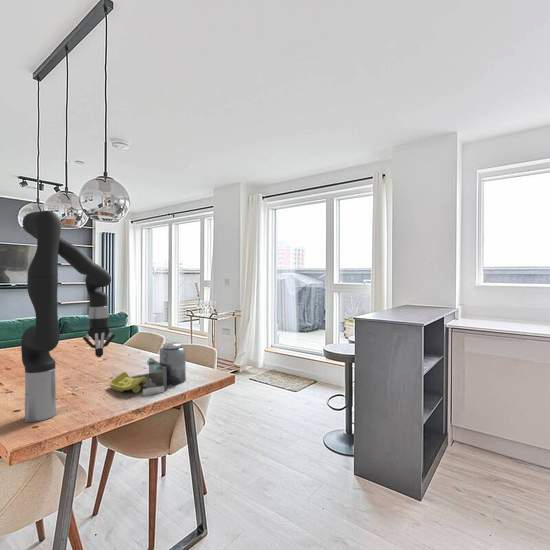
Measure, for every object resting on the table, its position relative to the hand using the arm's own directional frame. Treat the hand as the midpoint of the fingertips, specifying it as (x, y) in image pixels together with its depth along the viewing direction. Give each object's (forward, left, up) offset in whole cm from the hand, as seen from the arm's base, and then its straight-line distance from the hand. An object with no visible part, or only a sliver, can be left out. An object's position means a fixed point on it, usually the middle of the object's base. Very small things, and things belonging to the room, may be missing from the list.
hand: (99, 356), depth 147 cm
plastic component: (+12, 0, -17) cm, 21 cm away
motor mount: (+26, 0, -16) cm, 31 cm away
